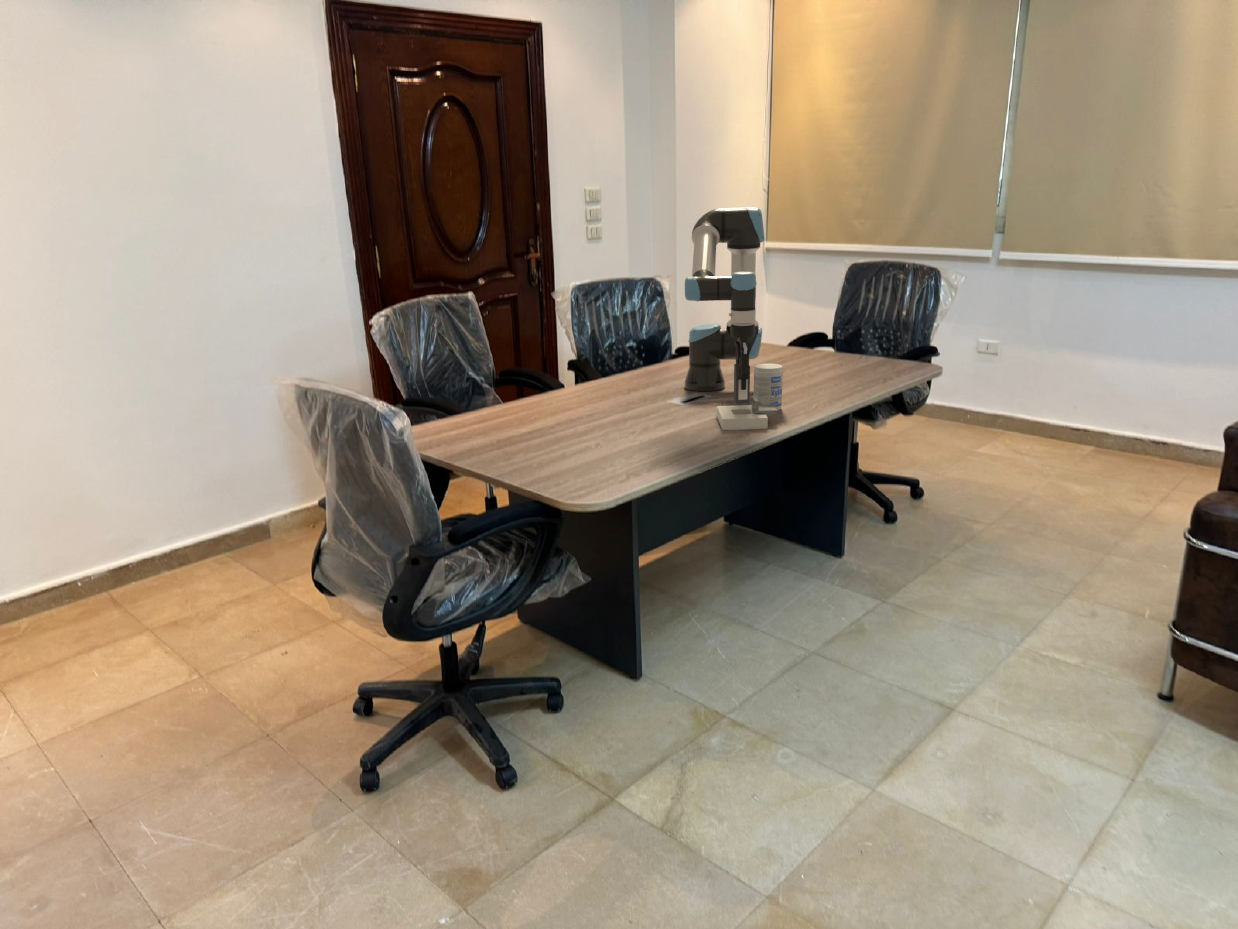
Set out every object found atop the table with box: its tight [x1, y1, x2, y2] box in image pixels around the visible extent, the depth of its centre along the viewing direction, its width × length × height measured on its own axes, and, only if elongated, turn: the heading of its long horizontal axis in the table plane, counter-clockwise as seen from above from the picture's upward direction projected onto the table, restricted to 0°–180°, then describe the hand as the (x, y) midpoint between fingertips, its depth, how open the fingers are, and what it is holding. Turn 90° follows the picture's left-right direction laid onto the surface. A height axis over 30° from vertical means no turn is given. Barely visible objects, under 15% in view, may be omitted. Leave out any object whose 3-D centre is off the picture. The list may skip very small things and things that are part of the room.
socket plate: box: [716, 404, 769, 431], centre depth 260 cm, size 16×14×4 cm
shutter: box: [751, 396, 778, 414], centre depth 259 cm, size 7×7×4 cm
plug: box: [733, 363, 751, 405], centre depth 256 cm, size 4×4×12 cm
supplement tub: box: [752, 363, 784, 411], centre depth 273 cm, size 10×10×15 cm
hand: (741, 397), depth 258 cm, fingers closed on plug, 4 cm apart
